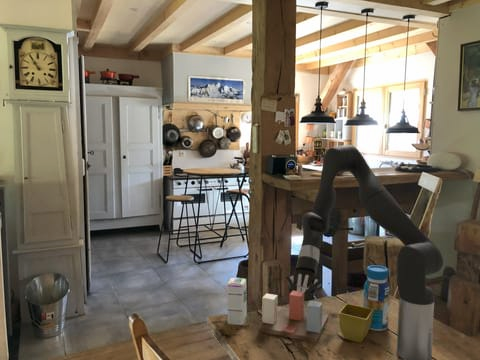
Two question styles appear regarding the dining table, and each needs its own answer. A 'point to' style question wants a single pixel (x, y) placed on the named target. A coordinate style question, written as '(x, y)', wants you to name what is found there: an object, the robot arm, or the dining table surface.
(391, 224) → the robot arm
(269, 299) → the cream rectangular block
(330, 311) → the dining table surface
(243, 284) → the syrup box
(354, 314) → the flower pot
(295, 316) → the red rectangular block
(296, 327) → the brown wooden board
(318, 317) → the grey rectangular block
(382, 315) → the beverage bottle
